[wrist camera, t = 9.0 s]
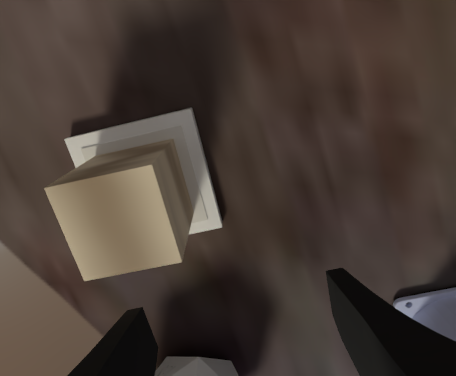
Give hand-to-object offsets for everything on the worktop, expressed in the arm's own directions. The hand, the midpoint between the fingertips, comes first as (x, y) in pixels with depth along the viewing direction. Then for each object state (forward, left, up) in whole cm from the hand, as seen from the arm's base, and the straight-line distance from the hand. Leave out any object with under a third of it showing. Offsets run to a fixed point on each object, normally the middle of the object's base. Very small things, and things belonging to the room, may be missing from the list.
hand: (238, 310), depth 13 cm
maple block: (+5, -3, -10) cm, 11 cm away
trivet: (+5, -3, -10) cm, 12 cm away
